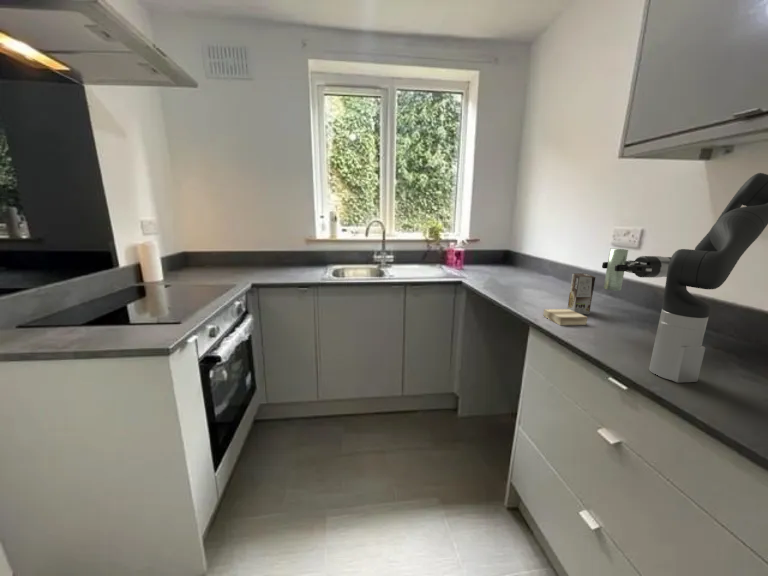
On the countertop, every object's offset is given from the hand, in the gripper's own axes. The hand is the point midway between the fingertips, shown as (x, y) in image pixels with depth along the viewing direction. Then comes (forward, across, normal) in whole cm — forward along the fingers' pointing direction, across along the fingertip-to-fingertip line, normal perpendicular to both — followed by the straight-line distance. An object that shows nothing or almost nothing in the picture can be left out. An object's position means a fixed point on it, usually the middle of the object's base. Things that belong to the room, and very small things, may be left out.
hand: (609, 266), depth 120 cm
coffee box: (-11, -25, +24) cm, 36 cm away
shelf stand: (+4, -13, +24) cm, 27 cm away
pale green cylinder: (-3, 0, +8) cm, 8 cm away
